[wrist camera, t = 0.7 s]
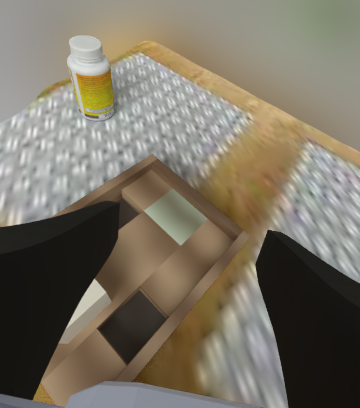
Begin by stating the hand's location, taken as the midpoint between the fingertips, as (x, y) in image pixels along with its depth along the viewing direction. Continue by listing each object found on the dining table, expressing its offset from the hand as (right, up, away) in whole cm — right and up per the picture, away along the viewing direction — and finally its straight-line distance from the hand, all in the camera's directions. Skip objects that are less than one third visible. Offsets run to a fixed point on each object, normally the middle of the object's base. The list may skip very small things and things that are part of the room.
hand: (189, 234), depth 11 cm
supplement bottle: (-14, +17, +27) cm, 34 cm away
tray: (-6, -5, +14) cm, 16 cm away
